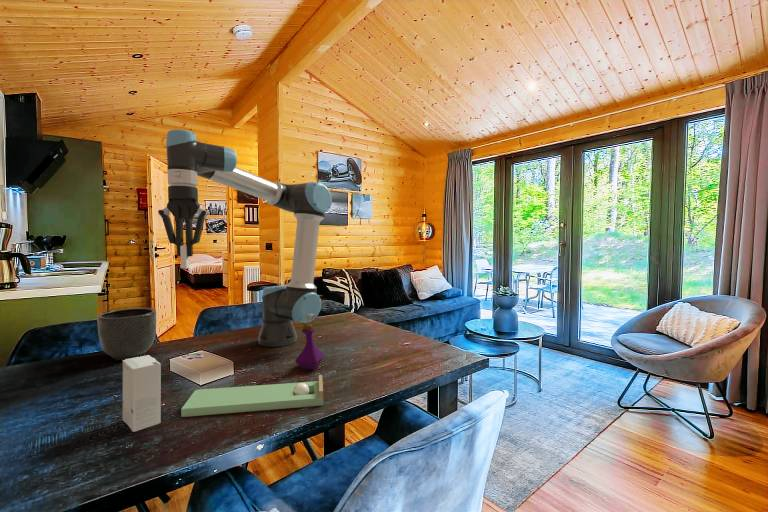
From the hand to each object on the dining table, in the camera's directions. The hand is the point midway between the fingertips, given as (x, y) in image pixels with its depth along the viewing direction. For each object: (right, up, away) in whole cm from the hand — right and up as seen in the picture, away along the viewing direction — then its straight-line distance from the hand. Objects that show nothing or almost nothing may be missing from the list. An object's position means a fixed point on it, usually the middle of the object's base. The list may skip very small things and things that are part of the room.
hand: (185, 267), depth 107 cm
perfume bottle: (+33, -34, +15) cm, 50 cm away
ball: (+36, -33, -8) cm, 49 cm away
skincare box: (+1, -36, -20) cm, 41 cm away
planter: (-33, -33, +24) cm, 53 cm away
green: (+24, -35, -9) cm, 44 cm away
